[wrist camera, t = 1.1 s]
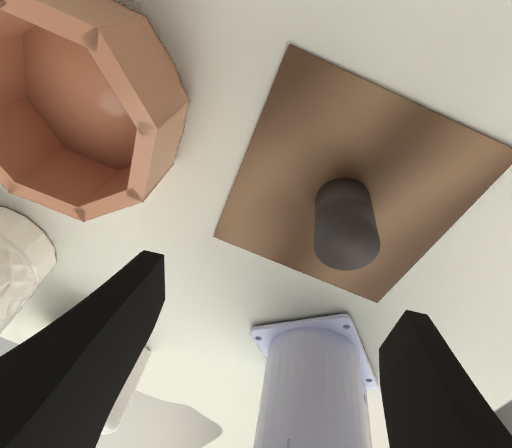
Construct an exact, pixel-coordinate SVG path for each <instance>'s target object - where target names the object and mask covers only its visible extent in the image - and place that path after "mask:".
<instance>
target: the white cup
mask: <svg viewBox="0 0 512 448" xmlns="http://www.w3.org/2000/svg"><path fill="white" fill-rule="evenodd" d="M55 264H56V256H55V249H54V247H53V245H52V244H51V242H50V241H49V239H48V237H47V236H46V234H45V233H44V232H43V231H42V230H41V229H40V228H38V227H37V226H36V225H35V224H34V223H33V222H31V221H30V220H29V219H28V218H26V217H24V216H22V215H20V214H18V213H16V212H14V211H12V210H10V209H8V208H5V207H0V334H1V333H2V332H3V330H4V329H5V328H6V327H7V326H8V324H9V323H10V322H11V321H12V320H13V318H14V317H15V316H16V315H17V314H18V313H19V311H20V310H21V308H22V307H23V305H24V304H25V303H26V302H27V301H28V300H29V299H30V297H31V296H32V295H33V292H34V290H35V289H36V288H37V286H38V285H39V284H40V283H41V281H42V280H43V279H44V278H45V277H46V276H47V275H48V273H49V272H50V271H51V269H52V268H53V266H54V265H55Z"/></svg>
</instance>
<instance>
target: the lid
mask: <svg viewBox="0 0 512 448" xmlns="http://www.w3.org/2000/svg"><path fill="white" fill-rule="evenodd" d="M511 165H512V148H511V147H509V146H507V145H505V144H503V143H501V142H498V141H496V140H494V139H492V138H490V137H488V136H486V135H483V134H481V133H479V132H477V131H475V130H473V129H470V128H468V127H466V126H464V125H462V124H460V123H458V122H455V121H453V120H451V119H449V118H447V117H445V116H442V115H440V114H438V113H436V112H434V111H432V110H430V109H427V108H425V107H423V106H421V105H419V104H417V103H415V102H412V101H410V100H408V99H406V98H404V97H402V96H399V95H397V94H395V93H393V92H391V91H389V90H387V89H384V88H382V87H380V86H378V85H376V84H374V83H371V82H369V81H367V80H365V79H363V78H361V77H359V76H356V75H354V74H352V73H350V72H348V71H346V70H343V69H341V68H339V67H337V66H335V65H333V64H331V63H328V62H326V61H324V60H322V59H320V58H318V57H316V56H313V55H311V54H309V53H307V52H305V51H303V50H300V49H298V48H296V47H294V46H292V45H290V44H289V46H288V48H287V51H286V53H285V56H284V58H283V61H282V63H281V66H280V68H279V71H278V73H277V76H276V79H275V81H274V84H273V86H272V89H271V91H270V94H269V96H268V99H267V101H266V104H265V106H264V109H263V111H262V114H261V117H260V119H259V122H258V124H257V127H256V129H255V132H254V134H253V137H252V139H251V142H250V144H249V147H248V149H247V152H246V155H245V157H244V160H243V162H242V165H241V167H240V170H239V172H238V175H237V177H236V180H235V182H234V185H233V187H232V190H231V193H230V195H229V198H228V200H227V203H226V205H225V208H224V210H223V213H222V215H221V218H220V220H219V223H218V225H217V228H216V231H215V233H214V236H213V237H215V238H218V239H220V240H223V241H225V242H228V243H230V244H233V245H235V246H238V247H240V248H243V249H245V250H248V251H250V252H252V253H255V254H257V255H260V256H262V257H265V258H267V259H270V260H272V261H275V262H277V263H280V264H282V265H285V266H287V267H290V268H292V269H295V270H297V271H300V272H302V273H305V274H307V275H309V276H312V277H314V278H317V279H319V280H322V281H324V282H327V283H329V284H332V285H334V286H337V287H339V288H342V289H344V290H347V291H349V292H352V293H354V294H357V295H359V296H362V297H364V298H366V299H369V300H371V301H374V302H376V303H378V302H379V301H380V299H381V298H382V297H383V296H384V295H385V294H386V293H387V292H388V291H389V290H390V289H391V288H392V287H393V286H394V285H395V284H396V283H397V282H398V281H399V280H400V279H401V278H402V277H403V276H404V275H405V274H406V273H407V272H408V271H409V270H410V269H411V268H412V267H413V266H414V264H415V263H416V262H417V261H418V260H419V259H420V258H421V257H422V256H423V255H424V254H425V253H426V252H427V251H428V250H429V249H430V248H431V247H432V246H433V245H434V244H435V243H436V242H437V241H438V240H439V239H440V238H441V237H442V236H443V235H444V234H445V233H446V232H447V230H448V229H449V228H450V227H451V226H452V225H453V224H454V223H455V222H456V221H457V220H458V219H459V218H460V217H461V216H462V215H463V214H464V213H465V212H466V211H467V210H468V209H469V208H470V207H471V206H472V205H473V204H474V203H475V202H476V201H477V200H478V199H479V198H480V197H481V195H482V194H483V193H484V192H485V191H486V190H487V189H488V188H489V187H490V186H491V185H492V184H493V183H494V182H495V181H496V180H497V179H498V178H499V177H500V176H501V175H502V174H503V173H504V172H505V171H506V170H507V169H508V168H509V167H510V166H511Z"/></svg>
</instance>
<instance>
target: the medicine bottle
mask: <svg viewBox="0 0 512 448" xmlns="http://www.w3.org/2000/svg"><path fill="white" fill-rule="evenodd" d="M150 356H151V352H150V351H149V350H148V349H147V348H146V347H144V349H143V351H142V352H141V354H140V356H139V358H138V360H137V362H136V364H135V366H134V368H133V370H132V371H131V373H130V375H129V377H128V379H127V381H126V383H125V385H124V387H123V388H122V390H121V392H120V394H119V396H118V398H117V400H116V402H115V404H114V406H113V408H112V410H111V412H110V414H109V416H108V418H107V421H106V423H105V425H104V428H103V430H102V433H101V435H102V434H108V433H113V432H114V431H116V430H117V428H118V426H119V424H120V421H121V419H122V417H123V415H124V413H125V411H126V408H127V406H128V404H129V402H130V400H131V398H132V395H133V393H134V391H135V389H136V387H137V385H138V382H139V380H140V378H141V376H142V374H143V371H144V369H145V367H146V365H147V363H148V361H149V358H150Z"/></svg>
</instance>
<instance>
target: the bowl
mask: <svg viewBox="0 0 512 448" xmlns="http://www.w3.org/2000/svg"><path fill="white" fill-rule="evenodd" d="M189 102H190V101H189V99H188V97H187V95H186V93H185V91H184V89H183V87H182V83H181V80H180V77H179V74H178V71H177V69H176V67H175V65H174V62H173V60H172V58H171V57H170V55H169V53H168V52H167V50H166V48H165V47H164V45H163V44H162V42H161V41H160V40H159V38H158V37H157V36H156V34H155V33H154V31H153V29H152V27H151V25H150V23H149V21H148V19H147V17H144V16H142V15H140V14H138V13H136V12H133V11H131V10H129V9H127V8H126V7H125V6H123V5H122V4H120V3H118V2H116V1H114V0H0V183H1V184H2V185H3V186H4V187H5V188H6V189H7V190H8V191H9V192H10V193H12V194H15V195H17V196H20V197H22V198H25V199H28V200H30V201H33V202H35V203H38V204H40V205H43V206H45V207H48V208H50V209H53V210H55V211H58V212H61V213H63V214H66V215H68V216H71V217H73V218H76V219H78V220H81V221H83V222H85V221H87V220H90V219H93V218H96V217H99V216H102V215H105V214H108V213H111V212H114V211H117V210H120V209H123V208H126V207H129V206H132V205H135V204H138V203H141V202H143V201H144V200H145V199H146V198H147V196H148V195H149V194H150V193H151V192H152V190H153V189H154V188H155V187H156V185H157V184H158V183H159V182H160V180H161V179H162V178H163V177H164V176H165V174H166V173H167V172H168V171H169V169H170V168H171V167H172V166H173V165H174V159H175V155H176V152H177V148H178V144H179V142H180V140H181V137H182V134H183V131H184V126H185V116H186V112H187V108H188V104H189Z"/></svg>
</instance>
